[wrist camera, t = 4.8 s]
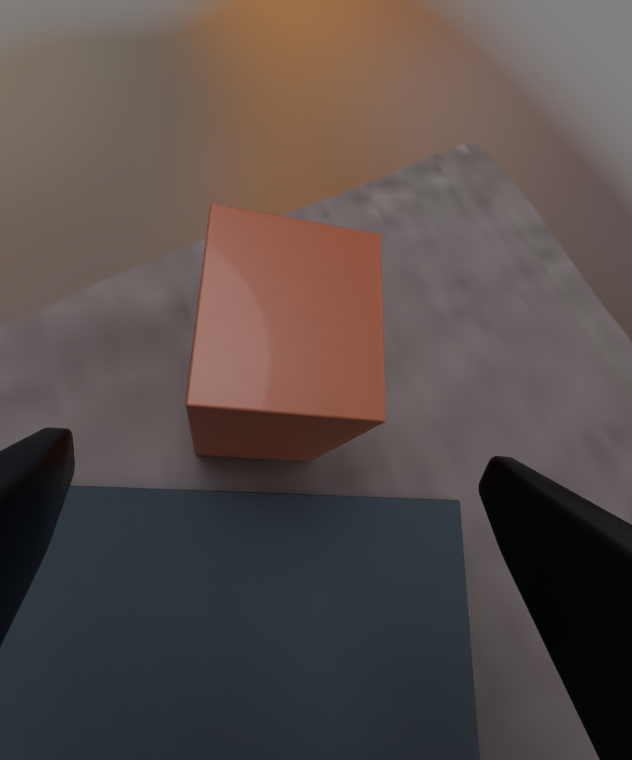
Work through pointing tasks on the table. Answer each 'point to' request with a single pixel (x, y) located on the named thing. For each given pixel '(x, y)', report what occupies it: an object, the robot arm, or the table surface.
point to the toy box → (285, 337)
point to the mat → (242, 631)
